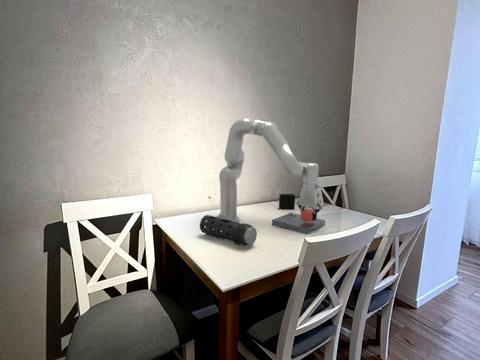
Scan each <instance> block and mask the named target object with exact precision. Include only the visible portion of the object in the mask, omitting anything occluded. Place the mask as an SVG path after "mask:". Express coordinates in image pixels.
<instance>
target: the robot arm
mask: <svg viewBox="0 0 480 360" xmlns="http://www.w3.org/2000/svg"><path fill="white" fill-rule="evenodd" d="M245 135H253V136H258V137H262V138H264V140H265V142H267V144H268V145H269V147H270V148H271V149H272V151H273V153H274V154H275V156H276V157H277V159H278V160H279V162H280V163H281V165H282V166H283V168H284V169H285V171H286V173H288V175H289V176H290V177H292V178H294V179H295V178H296V179H297V178H300V177H301V176H303V181H302V183H303V184H302V186H303V187H301V191H300V196H299V200H298V201H295V205H297V207H298V209H299V211H300V212H301V211H302V210H304V209H306V208H308V209H311V210H313V212H314V213H313V218H312V221H314V220H316V219H317V218H318V213H319V212H320V211H322V210H323V209H324V206H323V205H322V204H321V196H320V189H319V188H321V186H320V185H319V167H320V166H319V164H318V163H315V162H302V161H298V160H297V157H295V155H294V154H293V153H292V150H291V148H290V145H289V144H288V143H289V142H287V140H286V139H285V138H284V136H283V135H282V133H281V132H280V131H279V129H278V126H277V125H276V123H274V122H272V121H262V120H259V119H253V118H249V117H244V118H241V119H238V120H235V122H233V123H232V125H231V126H230V129H229V132H228V137H227V141H226V145H225V146H226V147H225V151H224V161H225V162H226V166H224V167H223V168H222V169H221V170H220V172H219V175H218V176H219V177H218V179H219V188H220V189H219V191H220V194H219V195H220V198H219V199H220V200H219V201H220V202H219V203H220V205H219V207H220V213H218V215H217V216H215V217H218V218H222V219H226V220H230V221H234V222H238V223H239V222H240V217H239V216H237V215H238V210H237V209H238V185H237V180H238V179H239V178H240V177H241V175H242V170H243V164H244V161H245V152H244V150H243V149H242V147H243V145H244V144H243V143H244V137H245Z"/></svg>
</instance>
